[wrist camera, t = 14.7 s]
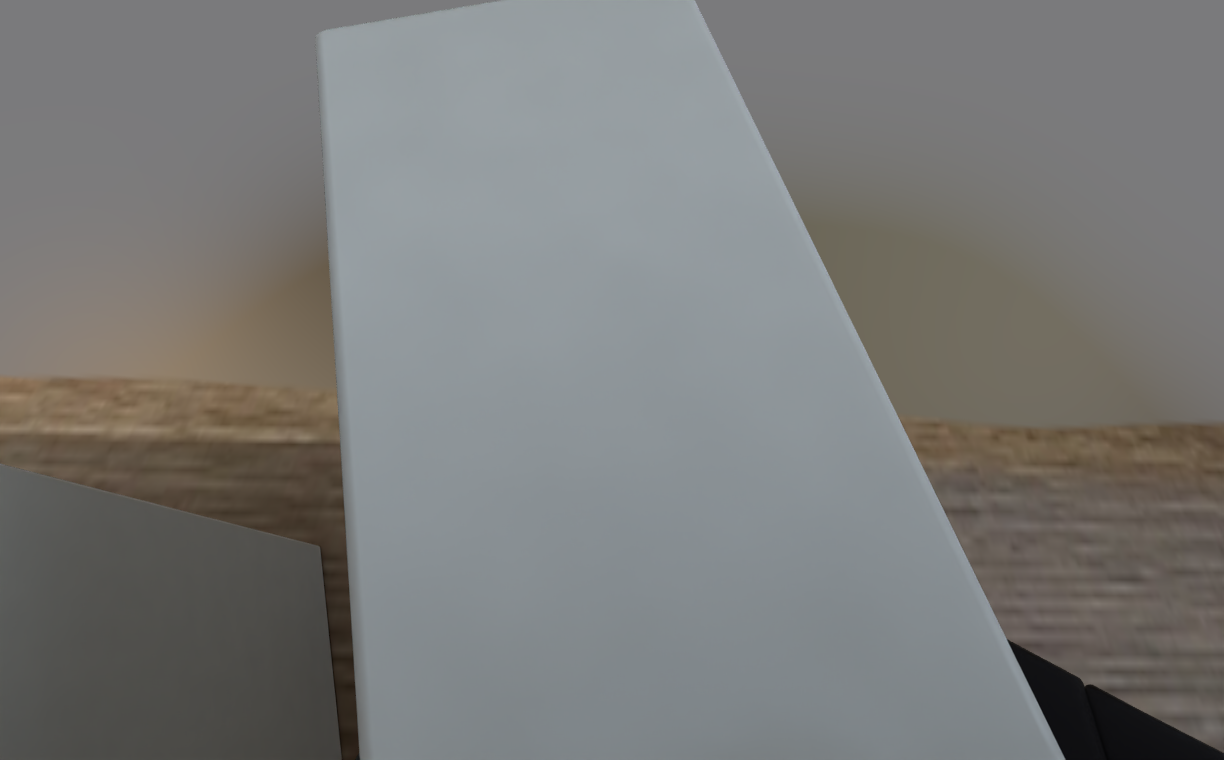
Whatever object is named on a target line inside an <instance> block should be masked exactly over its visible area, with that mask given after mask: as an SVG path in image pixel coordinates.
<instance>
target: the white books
mask: <svg viewBox="0 0 1224 760" xmlns="http://www.w3.org/2000/svg"><path fill="white" fill-rule="evenodd" d="M0 760H342V757H341V747H340V737H339V728H338V718H337V708H336V698H335V689H334V679H333V669H332V659H331V649H330V640H329V630H328V620H327V610H326V601H325V591H324V581H323V571H322V562H321V552H320V547H319V546H317V545H313V544H309V543H306V542H302V541H298V540H294V539H290V538H286V537H282V536H278V535H275V534H271V533H267V532H263V531H259V530H255V529H251V528H247V527H244V526H240V525H236V524H232V523H228V522H224V521H220V520H216V519H213V518H209V517H205V516H201V515H197V514H193V513H189V512H186V511H182V510H178V509H174V508H170V507H166V506H162V505H158V504H155V503H151V502H147V501H143V500H139V499H135V498H131V497H127V496H124V495H120V494H116V493H112V492H108V491H104V490H100V489H97V488H93V487H89V486H85V485H81V484H77V483H73V482H69V481H66V480H62V479H58V478H54V477H50V476H46V475H42V474H38V473H35V472H31V471H27V470H23V469H19V468H15V467H11V466H8V465H4V464H0Z"/></svg>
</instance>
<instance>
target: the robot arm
mask: <svg viewBox="0 0 1224 760" xmlns="http://www.w3.org/2000/svg"><path fill="white" fill-rule="evenodd" d="M1007 641H1008V643H1009V645H1010V647H1011V649H1012V651H1013V654H1014V656H1015V658H1016V660H1017V662H1018V664H1019V666H1020V668H1021V670H1022V672H1023V674H1024V676H1025V678H1026V680H1027V682H1028V684H1029V686H1030V688H1031V690H1032V692H1033V694H1034V696H1035V699H1036V701H1037V703H1038V705H1039V707H1040V709H1041V711H1042V713H1043V715H1044V717H1045V719H1046V721H1047V723H1048V725H1049V727H1050V729H1051V731H1052V733H1053V735H1054V737H1055V739H1056V742H1057V744H1058V746H1059V748H1060V750H1061V752H1062V754H1063V756H1064V758H1065V760H1224V753H1222V752H1220V751H1219V750H1217V749H1215V748H1213V747H1211V746H1209V745H1207V744H1205V743H1203V742H1201V741H1199V740H1197V739H1195V738H1193V737H1191V736H1189V735H1187V734H1185V733H1183V732H1181V731H1180V730H1178V729H1176V728H1174V727H1172V726H1170V725H1168V724H1166V723H1164V722H1162V721H1160V720H1158V719H1156V718H1154V717H1152V716H1150V715H1148V714H1146V713H1144V712H1143V711H1141V710H1139V709H1137V708H1135V707H1133V706H1131V705H1129V704H1127V703H1126V702H1124V701H1122V700H1120V699H1118V698H1116V697H1114V696H1113V695H1111V694H1109V693H1107V692H1105V691H1103V690H1101V689H1099V688H1098V687H1096V686H1094V685H1086V686H1085V687H1084V684H1083V682H1082V680H1081V679H1080V678H1078V677H1076V676H1075V675H1073V674H1071V673H1069V672H1067V671H1065V670H1063V669H1061V668H1060V667H1058V666H1056V665H1054V664H1052V663H1050V662H1048V661H1047V660H1045V659H1043V658H1041V657H1039V656H1037V655H1035V654H1033V653H1032V652H1030V651H1028V650H1026V649H1024V648H1022V647H1020V646H1018V645H1017V644H1015V643H1013V642H1011V641H1009V640H1007ZM355 760H360V754H358V756H357V757H356V759H355Z"/></svg>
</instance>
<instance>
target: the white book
mask: <svg viewBox="0 0 1224 760" xmlns="http://www.w3.org/2000/svg"><path fill="white" fill-rule="evenodd" d="M316 61H317V74H318V75H317V77H318V93H319V107H320V125H321V141H322V157H323V174H324V189H325V206H326V222H327V237H328V253H329V268H330V269H329V270H330V286H331V303H332V318H333V335H334V350H335V367H336V383H337V399H338V415H339V431H340V448H341V464H342V480H343V496H344V512H345V528H346V544H347V560H348V577H349V593H350V609H351V625H352V641H353V657H354V673H355V689H356V706H357V722H358V738H359V754H360V760H1065V758H1064V756H1063V754H1062V752H1061V750H1060V748H1059V746H1058V744H1057V742H1056V739H1055V737H1054V735H1053V733H1052V731H1051V729H1050V727H1049V725H1048V723H1047V721H1046V719H1045V717H1044V715H1043V713H1042V711H1041V709H1040V707H1039V705H1038V703H1037V701H1036V699H1035V696H1034V694H1033V692H1032V690H1031V688H1030V686H1029V684H1028V682H1027V680H1026V678H1025V676H1024V674H1023V672H1022V670H1021V668H1020V666H1019V664H1018V662H1017V660H1016V658H1015V656H1014V654H1013V651H1012V649H1011V647H1010V645H1009V643H1008V641H1007V639H1006V637H1005V635H1004V633H1003V631H1002V629H1001V627H1000V625H999V623H998V621H997V619H996V617H995V615H994V613H993V611H992V608H991V606H990V604H989V602H988V600H987V598H986V596H985V594H984V592H983V590H982V588H981V586H980V584H979V582H978V580H977V578H976V576H975V574H974V572H973V570H972V568H971V565H970V563H969V561H968V559H967V557H966V555H965V553H964V551H963V549H962V547H961V545H960V543H959V541H958V539H957V537H956V535H955V533H954V531H953V529H952V527H951V525H950V522H949V520H948V518H947V516H946V514H945V512H944V510H943V508H942V506H941V504H940V502H939V500H938V498H937V496H936V494H935V492H934V490H933V488H932V486H931V484H930V482H929V479H928V477H927V475H926V473H925V471H924V469H923V467H922V465H921V463H920V461H919V459H918V457H917V455H916V453H915V451H914V449H913V447H912V445H911V443H910V441H909V439H908V436H907V434H906V432H905V430H904V428H903V426H902V424H901V422H900V420H899V418H898V416H897V414H896V412H895V410H894V408H893V406H892V404H891V402H890V400H889V398H888V396H887V394H886V391H885V389H884V387H883V385H882V383H881V381H880V379H879V377H878V375H877V373H876V371H875V369H874V367H873V365H872V363H871V361H870V359H869V357H868V355H867V353H866V351H865V348H864V346H863V344H862V342H861V340H860V339H859V336H858V334H857V332H856V330H855V328H854V326H853V324H852V322H851V320H850V318H849V316H848V314H847V312H846V310H845V307H844V305H843V303H842V302H841V299H840V297H839V295H838V293H837V291H836V289H835V287H834V285H833V283H832V281H831V279H830V277H829V275H828V273H827V271H826V269H825V267H824V265H823V262H822V260H821V258H820V257H819V254H818V253H817V250H816V248H815V246H814V244H813V242H812V240H811V238H810V236H809V234H808V232H807V230H806V228H805V226H804V224H803V221H802V220H801V217H800V215H799V213H798V211H797V209H796V207H795V205H794V203H793V201H792V199H791V197H790V195H789V193H788V191H787V189H786V187H785V185H784V183H783V181H782V179H781V177H780V174H779V172H778V170H777V168H776V166H775V164H774V162H773V160H772V158H771V156H770V154H769V152H768V150H767V148H766V146H765V144H764V142H763V140H762V138H761V136H760V133H759V131H758V129H757V127H756V125H755V123H754V121H753V119H752V117H751V115H750V113H749V111H748V109H747V107H746V105H745V103H744V101H743V99H742V97H741V95H740V93H739V90H738V89H737V86H736V85H735V82H734V80H733V78H732V76H731V74H730V72H729V70H728V68H727V66H726V64H725V62H724V60H723V58H722V56H721V54H720V52H719V50H718V48H717V46H716V43H715V41H714V40H713V37H712V35H711V33H710V31H709V29H708V27H707V25H706V23H705V21H704V19H703V17H702V15H701V13H700V11H699V9H698V7H697V5H696V2H695V0H501V1H495V2H489V3H483V4H477V5H471V6H465V7H460V8H453V9H447V10H441V11H435V12H429V13H423V14H418V15H412V16H406V17H400V18H394V19H388V20H382V21H376V22H370V23H364V24H358V25H352V26H346V27H340V28H334V29H329V30H324V31H322V32H320V33H318V34H317V36H316Z"/></svg>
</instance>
